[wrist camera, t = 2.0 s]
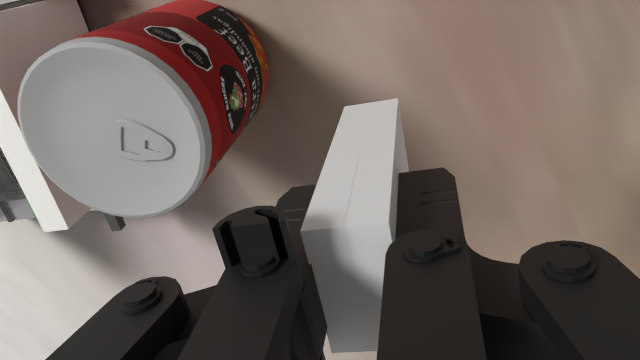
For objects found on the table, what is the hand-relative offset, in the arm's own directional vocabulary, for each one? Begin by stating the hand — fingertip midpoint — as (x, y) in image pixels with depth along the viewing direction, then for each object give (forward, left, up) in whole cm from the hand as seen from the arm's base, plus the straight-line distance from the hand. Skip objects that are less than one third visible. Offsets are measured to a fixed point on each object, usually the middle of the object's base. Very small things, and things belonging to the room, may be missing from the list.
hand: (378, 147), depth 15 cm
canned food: (0, -11, -15) cm, 19 cm away
